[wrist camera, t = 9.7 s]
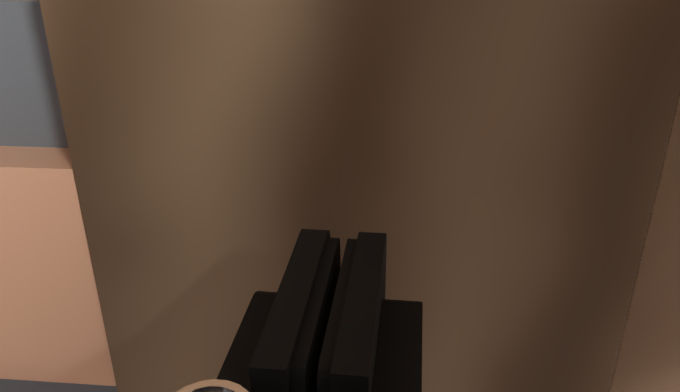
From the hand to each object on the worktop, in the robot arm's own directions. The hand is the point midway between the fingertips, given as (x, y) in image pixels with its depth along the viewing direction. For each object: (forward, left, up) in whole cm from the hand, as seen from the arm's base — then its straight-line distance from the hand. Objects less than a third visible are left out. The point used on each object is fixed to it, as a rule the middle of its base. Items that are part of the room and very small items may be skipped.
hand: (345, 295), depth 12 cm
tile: (+11, +2, -5) cm, 12 cm away
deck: (0, +2, -5) cm, 6 cm away
